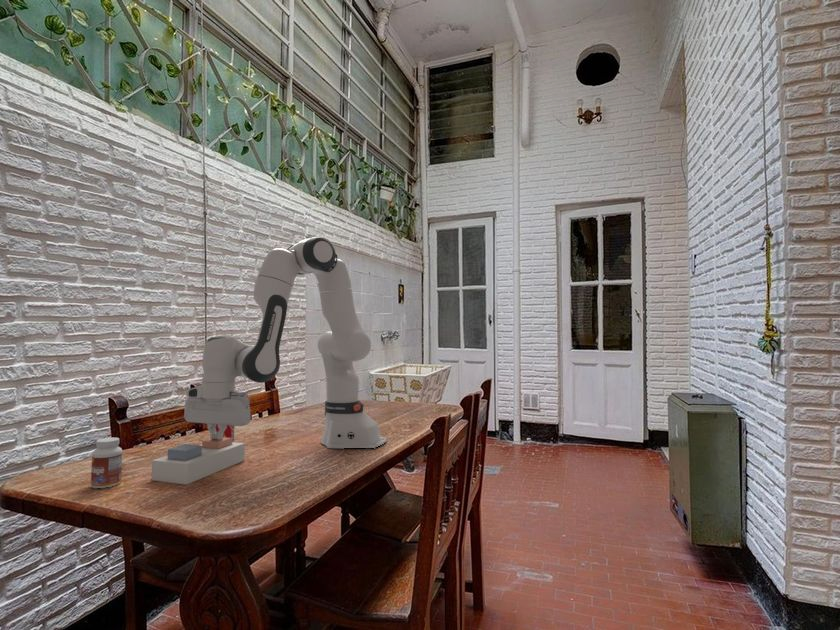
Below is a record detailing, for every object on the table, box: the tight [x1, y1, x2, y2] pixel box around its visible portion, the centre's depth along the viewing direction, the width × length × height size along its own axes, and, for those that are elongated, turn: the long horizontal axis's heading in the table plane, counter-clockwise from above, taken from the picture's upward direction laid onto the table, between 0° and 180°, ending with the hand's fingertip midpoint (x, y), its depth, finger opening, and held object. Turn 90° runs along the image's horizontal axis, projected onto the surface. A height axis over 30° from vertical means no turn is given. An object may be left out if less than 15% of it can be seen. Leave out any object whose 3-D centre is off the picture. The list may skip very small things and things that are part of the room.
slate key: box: [167, 443, 202, 461], centre depth 117 cm, size 6×6×4 cm
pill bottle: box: [90, 437, 123, 489], centre depth 110 cm, size 6×6×11 cm
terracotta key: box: [201, 437, 232, 449], centre depth 128 cm, size 6×6×4 cm
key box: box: [150, 441, 246, 485], centre depth 123 cm, size 11×22×5 cm, turn 164°
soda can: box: [209, 424, 235, 442], centre depth 143 cm, size 7×7×12 cm
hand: (216, 439), depth 128 cm, fingers closed, pressing on terracotta key
